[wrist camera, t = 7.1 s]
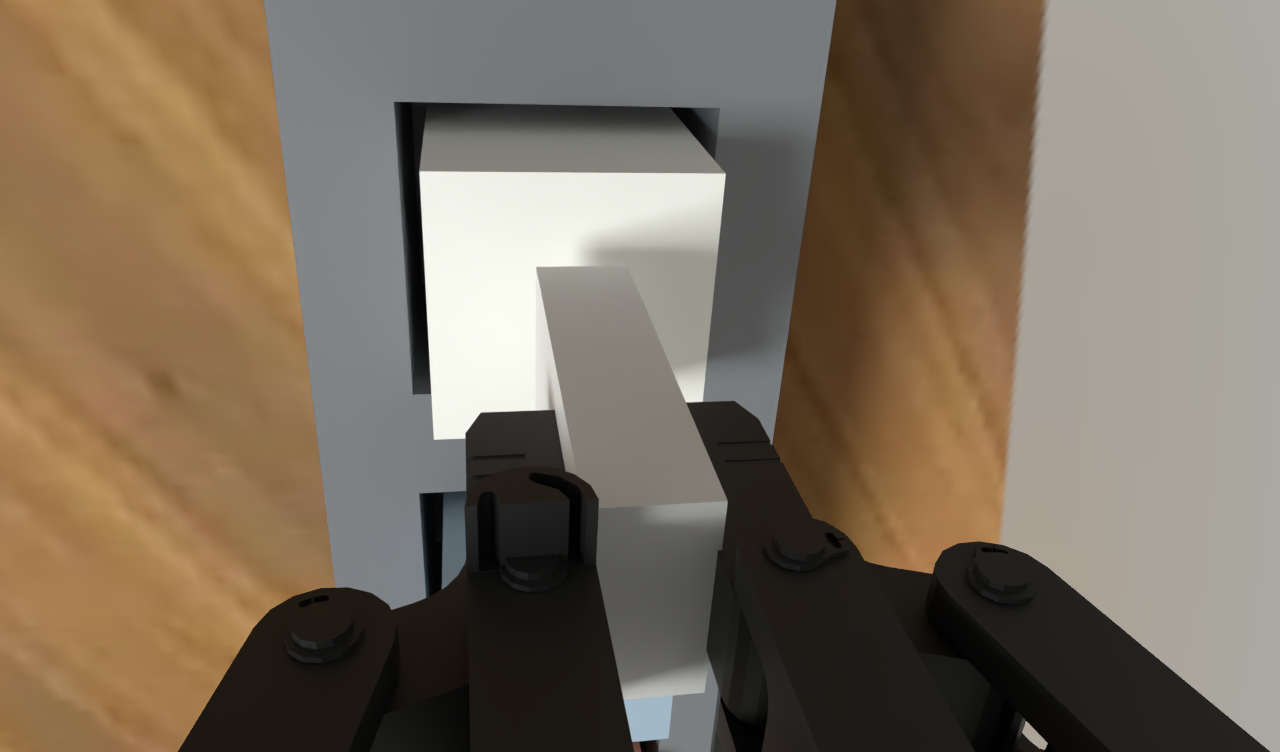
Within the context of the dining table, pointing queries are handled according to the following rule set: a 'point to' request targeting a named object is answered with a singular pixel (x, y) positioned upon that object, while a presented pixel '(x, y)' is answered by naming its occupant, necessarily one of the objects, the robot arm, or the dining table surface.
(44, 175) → the dining table surface
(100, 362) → the dining table surface
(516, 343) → the white key
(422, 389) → the console
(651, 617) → the robot arm
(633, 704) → the blue key
